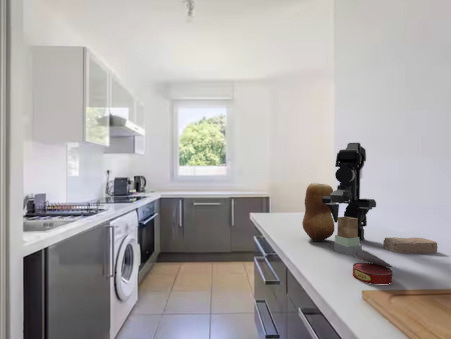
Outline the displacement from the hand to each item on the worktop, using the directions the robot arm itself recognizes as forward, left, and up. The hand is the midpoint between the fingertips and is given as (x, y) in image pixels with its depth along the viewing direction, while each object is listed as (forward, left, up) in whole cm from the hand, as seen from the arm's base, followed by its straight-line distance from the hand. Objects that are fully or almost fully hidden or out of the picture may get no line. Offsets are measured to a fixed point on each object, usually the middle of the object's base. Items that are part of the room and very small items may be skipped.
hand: (347, 224), depth 106 cm
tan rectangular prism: (0, +1, -5) cm, 5 cm away
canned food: (+19, -20, -11) cm, 29 cm away
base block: (0, +1, -11) cm, 11 cm away
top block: (0, +1, -8) cm, 8 cm away
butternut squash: (-17, +6, -10) cm, 21 cm away
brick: (+12, +24, -11) cm, 29 cm away
